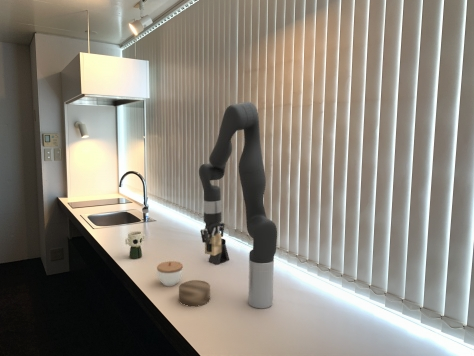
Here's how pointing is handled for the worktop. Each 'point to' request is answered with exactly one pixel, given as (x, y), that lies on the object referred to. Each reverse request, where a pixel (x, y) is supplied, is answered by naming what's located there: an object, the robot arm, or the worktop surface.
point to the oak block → (215, 245)
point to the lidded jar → (169, 272)
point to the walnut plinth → (194, 293)
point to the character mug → (135, 243)
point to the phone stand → (220, 254)
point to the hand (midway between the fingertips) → (213, 249)
